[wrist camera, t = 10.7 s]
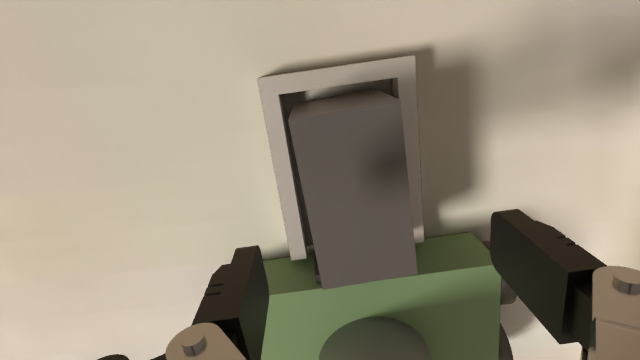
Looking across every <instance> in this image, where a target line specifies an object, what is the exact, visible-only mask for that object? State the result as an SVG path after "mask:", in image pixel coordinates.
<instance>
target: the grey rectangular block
mask: <svg viewBox="0 0 640 360" xmlns="http://www.w3.org/2000/svg"><path fill="white" fill-rule="evenodd" d="M288 122H289V127H290V132H291V137H292V142H293V147H294V152H295V156H296V161H297V166H298V171H299V176H300V181H301V186H302V191H303V196H304V200H305V205H306V210H307V215H308V220H309V225H310V230H311V235H312V240H313V244H314V249H315V254H316V259H317V264H318V269H319V274H320V279H321V284H322V288H323V290H326V289H332V288H338V287H344V286H350V285H356V284H362V283H368V282H374V281H380V280H386V279H392V278H397V277H403V276H409V275H415V274H418V272H417V262H416V251H415V241H414V231H413V221H412V211H411V201H410V191H409V181H408V171H407V161H406V151H405V141H404V131H403V121H402V111H401V101H400V100H399V99H397V98H395V97H393V96H390V95H388V94H386V93H384V92H382V91H379V90H377V89H374V90H369V91H363V92H358V93H352V94H347V95H341V96H336V97H330V98H325V99H319V100H314V101H308V102H303V103H297V104H293V107H292V110H291V113H290V116H289V119H288Z"/></svg>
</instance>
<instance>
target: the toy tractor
mask: <svg viewBox="0 0 640 360" xmlns="http://www.w3.org/2000/svg"><path fill="white" fill-rule="evenodd" d="M389 78H392V86H393V97H395V98H397V99H399V100H400V101H401V111H402V121H403V131H404V141H405V151H406V161H407V171H408V181H409V191H410V201H411V211H412V221H413V231H414V241H415V251H416V262H417V272H418V274H415V275H409V276H403V277H397V278H392V279H386V280H380V281H374V282H368V283H362V284H356V285H350V286H344V287H338V288H332V289H326V290H323V288H322V284H321V279H320V274H319V269H318V264H317V259H316V254H315V249H314V254H307V245H306V239H305V233H304V227H303V222H302V216H301V210H300V204H299V198H298V192H297V187H296V181H295V175H294V169H293V163H292V157H291V151H290V146H289V140H288V134H287V128H286V122H285V116H284V110H283V105H282V99H281V94H286V93H293V92H300V91H307V90H314V89H320V88H327V87H334V86H341V85H348V84H355V83H362V82H369V81H376V80H382V79H389ZM257 82H258V87H259V93H260V98H261V103H262V109H263V114H264V119H265V124H266V130H267V135H268V140H269V145H270V151H271V156H272V161H273V167H274V172H275V177H276V182H277V188H278V193H279V198H280V203H281V209H282V214H283V219H284V225H285V230H286V235H287V240H288V246H289V251H290V256H291V257H285V258H278V259H271V260H264V261H263V264H264V268H265V273H266V277H267V281H268V287H269V306H268V313H267V320H266V327H265V333H264V340H263V347H262V354H261V360H513V355H512V351H511V347H510V344H509V341H508V338H507V335H506V333H505V331H504V329H503V327H502V325H501V324H500V305H504V304H511V303H513V302H514V301H515V299H516V296H517V294H516V293H515V292H514V291H513V290H512V289H511V287H510V286H509V285H508V284H507V283H506V282H505V280H504V279H503V278H502V277H501V276H500V275H499V273H498V272H497V271H496V270H495V268H494V266H493V264H492V261H491V257H490V241H485V242H481V241H480V240H479V239H478V238H477V237H476V236H475V235H474V234H473V233H472V232H467V233H459V234H452V235H445V236H438V237H430V238H424V228H423V208H422V187H421V166H420V146H419V125H418V104H417V84H416V63H415V55H409V56H401V57H394V58H388V59H381V60H374V61H367V62H360V63H353V64H346V65H340V66H333V67H326V68H319V69H312V70H305V71H299V72H292V73H285V74H278V75H271V76H264V77H259V78H257Z"/></svg>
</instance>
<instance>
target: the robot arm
mask: <svg viewBox="0 0 640 360" xmlns="http://www.w3.org/2000/svg"><path fill="white" fill-rule="evenodd" d="M490 257H491V261H492V264H493V266H494V268H495V270H496V271H497V272H498V273H499V275H500V276H501V277H502V278H503V279H504V280H505V282H506V283H507V284H508V285H509V286H510V287H511V289H512V290H513V291H514V292H515V293H516V294H517V296H518V297H519V298H520V299H521V300H522V301H523V302H524V304H525V305H526V306H527V307H528V308H529V309H530V311H531V312H532V313H533V314H534V315H535V316H536V318H537V319H538V320H539V321H540V322H541V323H542V324H543V326H544V327H545V328H546V329H547V330H548V331H549V333H550V334H551V335H552V336H553V337H554V338H555V340H556V341H557V342H558V343H559V344H566V343H574V342H579V343H580V344H581V345H582V350H581V359H580V360H640V271H639V270H635V269H632V268H627V267H621V266H607V265H605V264H604V263H603V262H601V261H600V260H598V259H597V258H596V257H594V256H593V255H591V254H590V253H589V252H587V251H586V250H584V249H583V248H582V247H580V246H579V245H575V242H573V241H572V240H570V239H569V238H568V237H567V238H566V237H565V235H563V234H562V233H561V232H559V231H558V230H556V229H555V228H554V227H551V226H549V225H546V224H544V223H541V222H539V221H534V220H532V219H531V218H530V217H528V216H527V215H526V214H524V213H523V212H522V211H520V210H518V209H513V210H506V211H499V212H494V213H493V214H492V216H491V236H490ZM204 295H205V296H204V297H203V299H202V301H201V304H200V306H199V308H198V311H197V313H196V316H195V318H194V321H193V323H192V325H191V326H190V327H188V328H186V329H184V330H182V331H181V332H180V333H178V334H177V335H176V336H175V337H174V338H173V339H172V340H171V341H170V343H169V344H168V346H167V348H166V353H165V354H163V355H161V356H159V357H156V358H154V359H151V360H261V354H262V347H263V340H264V333H265V327H266V320H267V313H268V306H269V287H268V281H267V277H266V273H265V268H264V264H263V259H262V255H261V251H260V248H259V246H258V245H257V246H250V247H243V248H237V249H236V250H235V253H234V256H233V259H232V261H231V264H226V265H222V266H221V267H220V268H219V269H218V270H217V271H216V272H215V273H214V274H213V275H212V277H211V280H210V282H209V284H208V288H207V289H206V292H205V294H204ZM98 360H129V359H128V358H127V357H126V356H124V355H119V354H115V355H109V356H106V357H103V358H100V359H98Z"/></svg>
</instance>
